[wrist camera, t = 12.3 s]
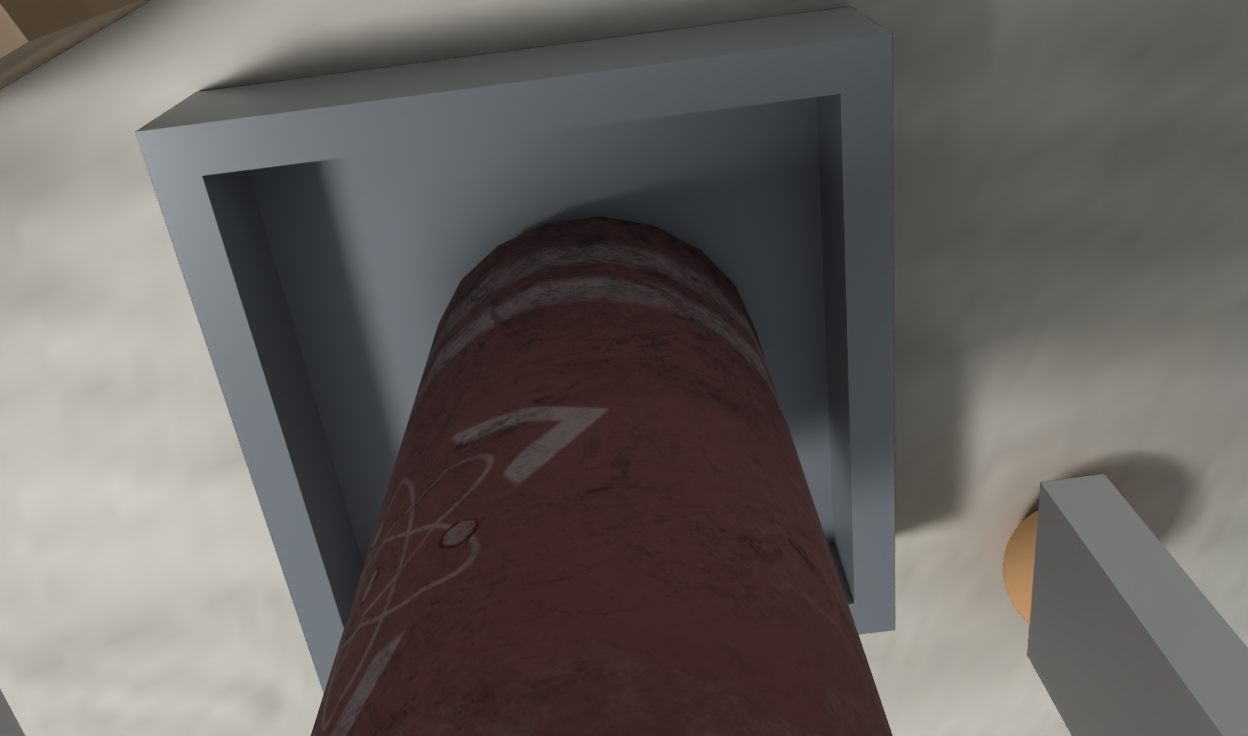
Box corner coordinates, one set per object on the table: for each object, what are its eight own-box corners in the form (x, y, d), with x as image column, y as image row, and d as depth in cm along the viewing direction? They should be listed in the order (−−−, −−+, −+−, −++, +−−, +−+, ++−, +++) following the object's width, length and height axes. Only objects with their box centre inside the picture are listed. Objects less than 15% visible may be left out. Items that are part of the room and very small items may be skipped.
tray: (352, 604, 24) (324, 694, 21) (196, 91, 19) (134, 131, 16) (862, 545, 23) (895, 630, 21) (850, 6, 18) (892, 33, 16)
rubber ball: (980, 591, 24) (1029, 685, 22) (986, 482, 23) (1038, 568, 20) (1112, 576, 24) (1177, 669, 21) (1124, 466, 23) (1196, 550, 20)
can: (470, 516, 22) (312, 1422, 9) (409, 226, 19) (65, 978, 6) (761, 485, 22) (994, 1364, 9) (744, 189, 19) (1051, 883, 6)
